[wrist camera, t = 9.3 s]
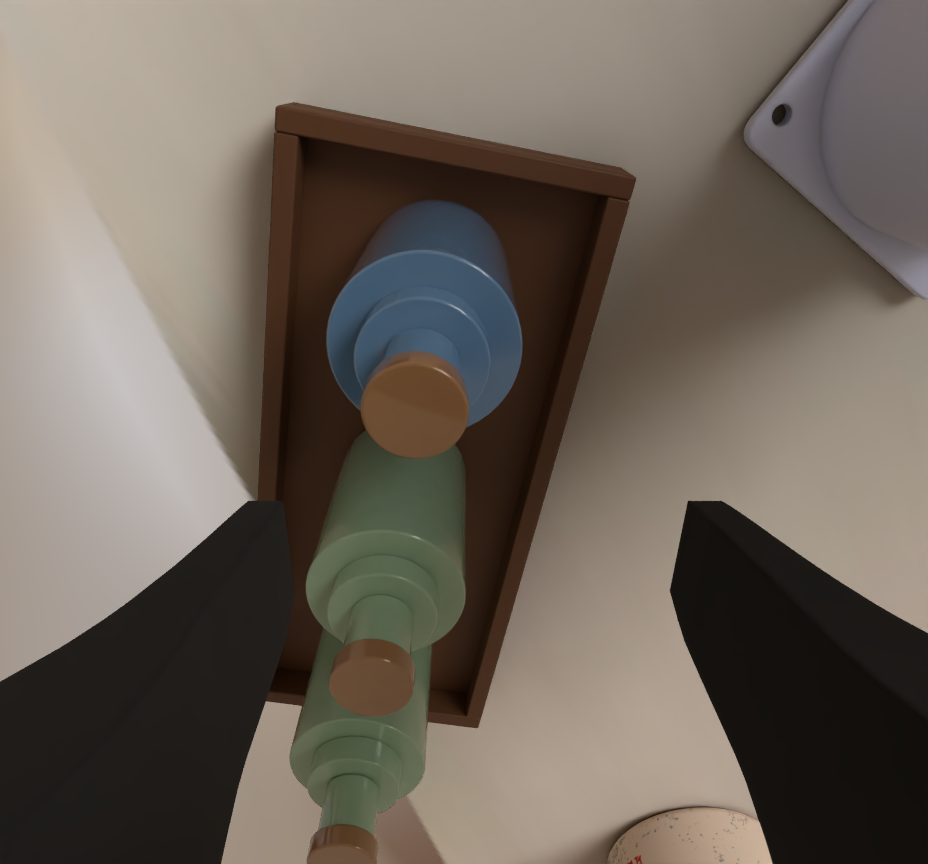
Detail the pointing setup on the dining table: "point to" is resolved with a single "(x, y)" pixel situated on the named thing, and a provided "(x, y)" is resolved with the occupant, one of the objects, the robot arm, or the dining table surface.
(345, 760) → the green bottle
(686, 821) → the cream enamel lidded pot
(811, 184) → the robot arm
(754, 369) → the dining table surface
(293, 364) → the tray
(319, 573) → the green bottle mid
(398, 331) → the blue bottle
